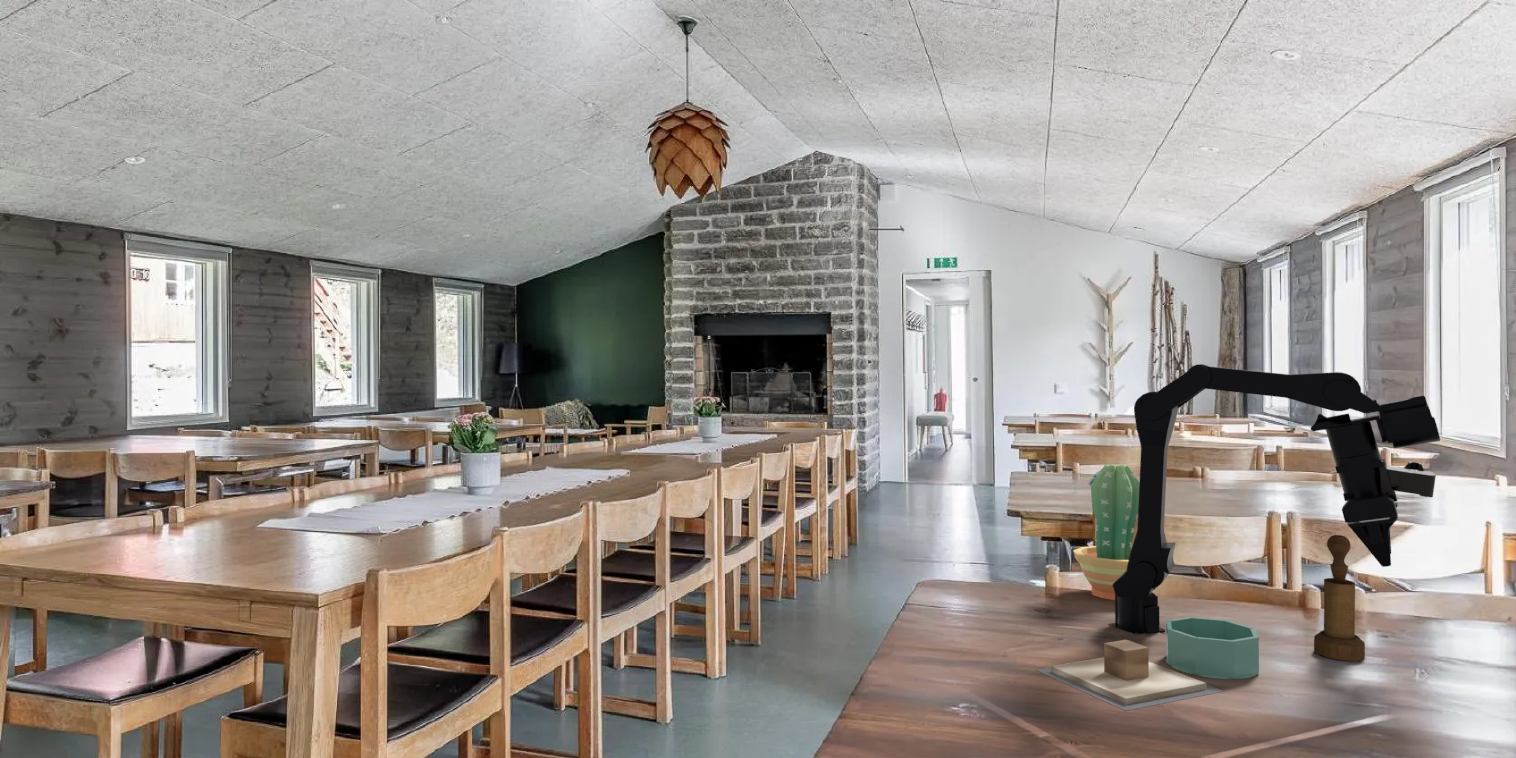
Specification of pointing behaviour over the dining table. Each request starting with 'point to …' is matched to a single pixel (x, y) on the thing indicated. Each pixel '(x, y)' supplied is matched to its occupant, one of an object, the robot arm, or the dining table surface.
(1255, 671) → the bowl
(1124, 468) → the potted cactus
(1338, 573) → the brown wooden upright piece
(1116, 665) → the lid
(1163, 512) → the robot arm
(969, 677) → the dining table surface
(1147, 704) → the mat
